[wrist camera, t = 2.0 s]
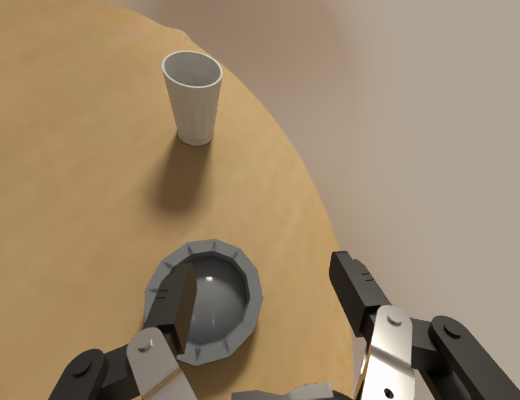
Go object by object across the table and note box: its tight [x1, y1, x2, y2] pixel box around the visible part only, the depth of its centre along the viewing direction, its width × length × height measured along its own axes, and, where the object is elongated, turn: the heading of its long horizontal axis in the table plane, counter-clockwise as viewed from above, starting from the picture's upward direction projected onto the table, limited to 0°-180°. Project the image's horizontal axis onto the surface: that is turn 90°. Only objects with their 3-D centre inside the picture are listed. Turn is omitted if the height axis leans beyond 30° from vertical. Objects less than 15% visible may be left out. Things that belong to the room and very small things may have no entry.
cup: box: [162, 51, 223, 146], centre depth 36 cm, size 8×8×12 cm
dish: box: [145, 239, 263, 366], centre depth 27 cm, size 13×13×3 cm
